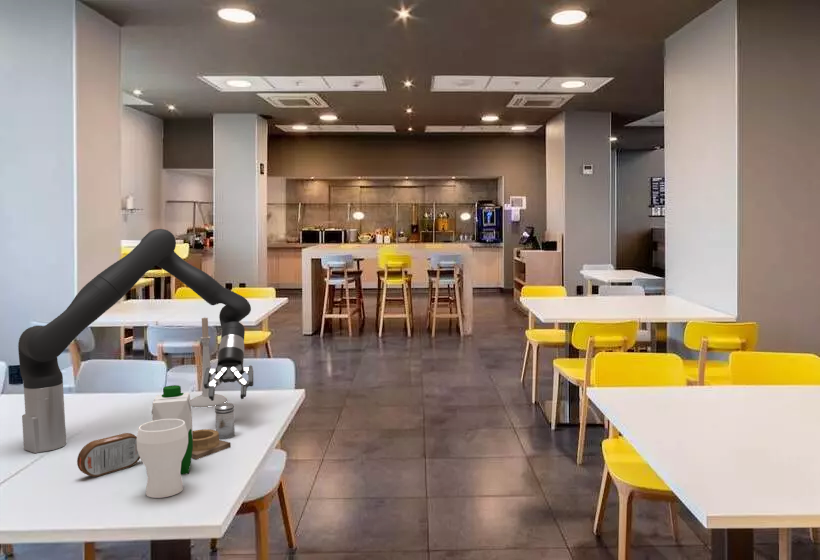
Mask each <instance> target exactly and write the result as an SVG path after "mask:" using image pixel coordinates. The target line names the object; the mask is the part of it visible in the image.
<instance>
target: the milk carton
mask: <svg viewBox="0 0 820 560" xmlns="http://www.w3.org/2000/svg"><path fill="white" fill-rule="evenodd" d="M162 392H163V394H157V395H156V396H155V398H153V402H152V409H151V415H152V421H155V420H161V419H180V420H183V421H184V422H185V425H186V428H187V432H188V446H187V450H186V453H185V455H184V457H183V459H182V461H181V472H180V473H181V475H187V474H189V473H190V469H191V465H192V451H193V432H192V431H193V416H192V415H193V412H192V407H191V396H190V395H191V394H190V392H182V386H181V385H179V384H178V385H177V384H175V385H174V384H173V385H167V386H164V387H163V389H162Z"/></svg>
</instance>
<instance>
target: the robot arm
mask: <svg viewBox="0 0 820 560" xmlns="http://www.w3.org/2000/svg"><path fill="white" fill-rule="evenodd" d="M176 245H177V241H176V237H175V235H174V234H173V233H172V231H169V230H168V229H164V228H158V229H157V228H156V229H153V230H151V231H149V232H148V233H147V234H145V236H143V237H142V238H141V240H140V242H139V243H137V245H136V246H135V247H134V248H133V249H132V250H131V251H130V252H129V253H127V254H126V255H124V257H121V258H120V259H119V260H117V261H116V262H114V263H112V264H111V265H109V266H108V267H107V268H105V269H104V270H102V271H101V272H100V273H99V274H97V275H96V276H94V277H93V278H92V279H91V280H90V281H88V282H87V283H86V284H85V285H84V286H83V287H82V288H81V289H80V290H79V292H77V294H76V295H75V297H74V298H73V299H72V301H71V303H70V304H69V305H68V306H67V307H66V309H65V310H64V311H63V312H62V313H60V314H59V315H58V316H57V317H55V318H54V319H53V320H51V321H50V322H48V323H47V324H45V325H34V326H30V327H27V328H26V329H25V330H24V331H23V332H22V333H21V334H20V337H19V338H18V345H17V347H18V349H17V350H18V359H19V361H18V362H19V372H20V376H21V379H22V382H23V383H22V384H23V394H24V395H23V396H24V397H23V399H24V400H23V401H24V414H22V416H21V421H22V439H23V450H25V451H27V452H30V453H34V454H36V453H43V452H50V451H53V450H57V449H60V448H63V447H65V446H66V445H67V434H66V431H67V430H66V415H65V397H64V378H63V373H62V371H61V369H60V366H59V361H58V357H59V356H60V355H61V354H63V352H64V351H65V350H66V349H67V348H68V347H69V346H70V345H71V344H72V343H73V342H74V340H75V339H76V338H77V337H78V336H79V335H80V334H81V333H82V332H83V331H84V330H85V329H87V327H89V326H90V325H91V324H93V323H94V322H95V321H97V320H98V319H99V318H100V317H101V316H102V315H103V314H104V313H106V312H107V311H108V310H110V309H111V308H112V307H114V306H115V304H117V303H118V302H119V301H120V300H121V299H122V298H123V297H125V295H126V294H127V293H128V292H130V290H132V288H133V287H134V286H135V285H136V284H137V283H138V282H139V281H140V280H141V279H142V277H143V276H144V275H145V274H146V273H147V272H148V271H150V270H151V269H152V268H153V267H155V266H156V267H159V268H160V269H162V270H164V271H165V272H167V273H169V274H170V275H171V276H173V277H174V278H176V279H178V281H180V282H181V283H183V284H184V285H185V286H187V287H188V288H189V289H190V290H191V291H193V292H194V293H195V294H197V295H198V296H199V297H200V298H201V299H203V300H204V301H205V303H207V304H209V305H210V306H215V305H219V304H223V305H224V306H223V307H222V308H221V310H220V312H219V316H218V318H219V323H220V327H221V336H220V342H219V347H218V357H217V364H216V365H217V366H216V367H215V368H211V369H210V368H209V367H207V368H206V370H205V375H204V380H203V379H202V383H203V385H204V388H205V389H207V388H208V389H209V393H208V396H209V399H211V401H214V394H216V390H215V389H216V388H217V387H218V386H220V385H221V384H222V383H225V384H226V383H235V382H237V383H238V385H240V400H244V399H245V398H246V396H247V392H248V391H247V389H248V388H249V387H254V367H253V365H249V366H248V367H244V354H245V333H246V332H245V326H244V325H243V323H242V322H241V321H242V320H244V318H246V317H247V316H248V315H250V314H251V311H252V308H251V304H250V302H249V301H248V300H247V298H245V297H244V296H242V295H241V294H239V293H236V292H235V291H232V290H231V289H228V288H226V287H224V286H223V285H222V284H220V282H218V281H217V280H216V279H215V278H214V277H212V276H211V275H209V274H208V273H207V272H205V271H203V270H202V269H200V268H198V267H196V266H194V265H192V264H190V263H189V262H187V261H186V260H184V259H183V258H182V257H181V256H179V254H177V253H176V251H175V249H176ZM244 373H246V375H247V376H248V380H245V378H244V377H243V374H244ZM214 374H215V376H214ZM213 376H214V377H213ZM210 377H212V381H211V382H210ZM209 382H210V383H209Z"/></svg>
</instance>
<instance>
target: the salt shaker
mask: <svg viewBox="0 0 820 560" xmlns="http://www.w3.org/2000/svg"><path fill="white" fill-rule="evenodd" d="M214 413H215V430H216V431H218V433H219V440H228V439H232V438H234V437H235V436H236V435H235V434H236V433H235V405H234V403H232V402H226V403H222V404H218V405H216V406H215V407H214Z"/></svg>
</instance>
